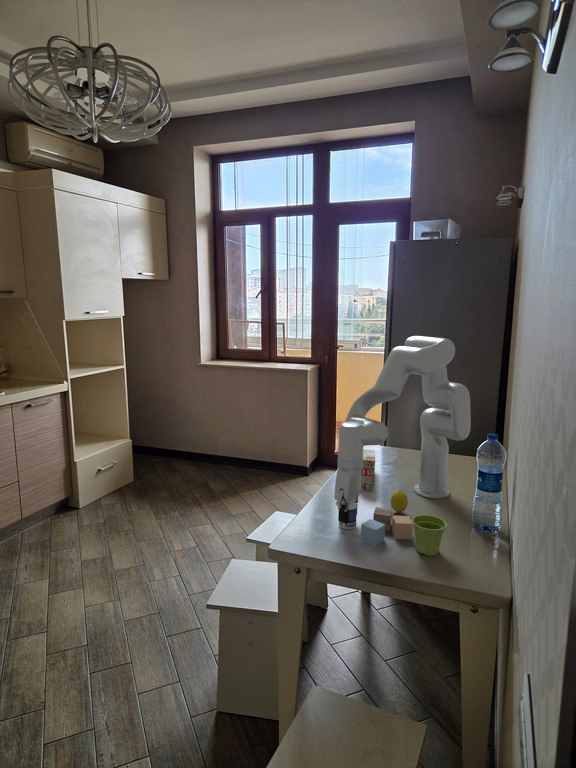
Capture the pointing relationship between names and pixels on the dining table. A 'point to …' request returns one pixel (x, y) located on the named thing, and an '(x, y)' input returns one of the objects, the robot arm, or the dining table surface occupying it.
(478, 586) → the dining table surface
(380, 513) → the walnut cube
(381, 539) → the slate blue cube
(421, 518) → the plant pot
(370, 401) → the robot arm
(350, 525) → the pill bottle
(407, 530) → the terracotta cube
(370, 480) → the stack of blocks
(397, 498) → the lemon
